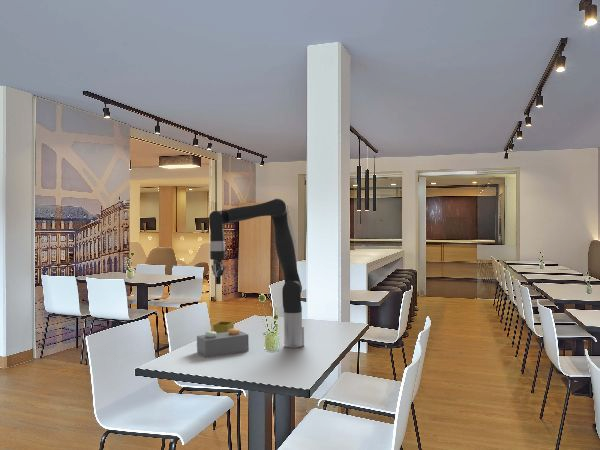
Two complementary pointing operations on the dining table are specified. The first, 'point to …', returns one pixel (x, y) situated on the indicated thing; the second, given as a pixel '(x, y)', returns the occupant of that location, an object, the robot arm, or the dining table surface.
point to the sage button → (210, 334)
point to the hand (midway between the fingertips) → (218, 284)
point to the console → (222, 344)
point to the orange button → (233, 331)
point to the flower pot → (223, 326)
